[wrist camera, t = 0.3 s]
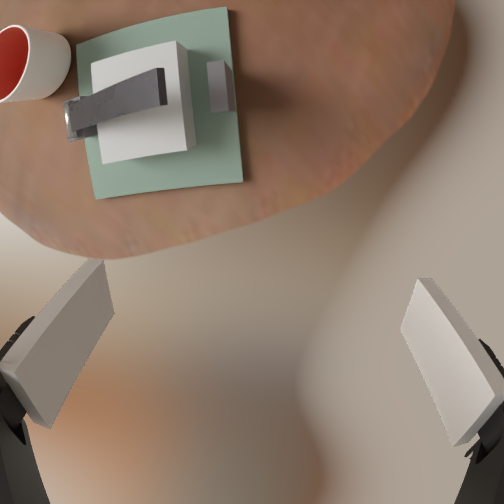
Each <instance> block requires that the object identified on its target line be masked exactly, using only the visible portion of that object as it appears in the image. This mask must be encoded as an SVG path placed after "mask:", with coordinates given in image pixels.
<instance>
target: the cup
mask: <svg viewBox="0 0 504 504" xmlns="http://www.w3.org/2000/svg"><path fill="white" fill-rule="evenodd" d="M70 64H71V49H70V46H69V43H68V41H67V40H66V39H65V38H64V37H63V36H62V35H60V34H58V33H54V32H50V31H45V30H41V29H36V28H32V27H27V26H22V25H11V26H9V27H6V28H5V29H3V30H2V31H1V32H0V103H3V102H13V101H23V100H36V99H43V98H45V97H47V96H49V95H51V94H52V93H54V92H55V91H56V90H57V89H58V88H59V87H60V86H61V84H62V83H63V81H64V80H65V78H66V76H67V74H68V71H69V68H70Z"/></svg>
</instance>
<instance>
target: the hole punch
mask: <svg viewBox="0 0 504 504" xmlns="http://www.w3.org/2000/svg"><path fill="white" fill-rule="evenodd" d="M76 53H77V72H78V86H79V97H76V98H73V99H70V100H73V103H76V102H78V101H80V100H82V99H84V98H86V97H88V96H90V95H92V94H94V93H96V92H99V91H101V90H103V89H105V88H107V87H110V86H112V85H114V84H116V83H119V82H121V81H123V80H126V79H128V78H131V77H133V76H136V75H138V74H141V73H143V72H146V71H149V70H151V69H154V68H164V70H165V81H166V91H167V101H168V105H165V106H160V107H156V108H152V109H148V110H144V111H140V112H137V113H133V114H129V115H126V116H122V117H119V118H115V119H112V120H109V121H105V122H102V123H99V124H96V125H93V126H90V127H87V128H84V129H81V130H78V131H77V136H78V137H76V138H72V139H69V142H72V141H76V140H80V139H84V138H85V145H86V151H87V158H88V163H89V169H90V174H91V180H92V185H93V190H94V195H95V199H96V200H97V199H103V198H109V197H116V196H123V195H130V194H137V193H144V192H152V191H160V190H168V189H177V188H186V187H195V186H205V185H215V184H226V183H238V182H243V180H244V179H243V168H242V157H241V147H240V136H239V125H238V115H237V104H236V93H235V82H234V72H233V61H232V50H231V39H230V28H229V17H228V9H227V7H220V8H213V9H206V10H200V11H194V12H188V13H183V14H178V15H173V16H169V17H164V18H160V19H156V20H152V21H148V22H144V23H140V24H136V25H133V26H129V27H126V28H123V29H119V30H116V31H113V32H110V33H107V34H104V35H101V36H98V37H96V38H93V39H90V40H87V41H85V42H82V43H80V44H77V45H76ZM70 100H67V101H70ZM65 102H66V101H65Z"/></svg>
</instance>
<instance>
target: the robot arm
mask: <svg viewBox="0 0 504 504" xmlns="http://www.w3.org/2000/svg"><path fill="white" fill-rule="evenodd" d="M113 315H114V310H113V305H112V300H111V296H110V291H109V286H108V281H107V276H106V271H105V265H104V260H98V259H88V260H87V261H86V262H85V263H84V264H83V265H82V266H81V267H80V268H79V269H78V270H77V271H76V272H75V273H74V274H73V276H72V277H71V278H70V279H69V280H68V281H67V282H66V283H65V284H64V285H63V286H62V288H61V289H60V290H59V291H58V292H57V293H56V294H55V295H54V297H53V298H52V299H51V300H50V301H49V302H48V303H47V304H46V306H45V307H44V308H43V309H42V310H41V311H40V313H39V314H38V315H37V316H36V317H35V316H32V317H31V318H29V319H28V320H27V321H25V322H24V323H22V324H21V325H20V327H19V328H18V329H17V330H16V332H15V334H13V335H12V336H11V338H10V339H9V342H8V341H7V343H6V344H5V345H4V346H3V348H2V349H1V350H0V504H50V502H49V499H48V497H47V494H46V491H45V488H44V485H43V483H42V480H41V477H40V473H39V470H38V467H37V464H36V460H35V457H34V453H33V450H32V446H31V442H30V438H29V434H28V429H27V426H26V423H25V421H24V419H23V417H24V416H25V414H26V412H27V414H28V415H29V416H30V418H31V419H32V420H33V422H34V423H36V424H39V425H42V426H44V427H47V428H49V429H51V427H52V425H53V423H54V421H55V419H56V417H57V415H58V413H59V411H60V409H61V407H62V405H63V404H64V402H65V400H66V398H67V396H68V394H69V392H70V390H71V388H72V386H73V384H74V383H75V381H76V379H77V377H78V375H79V373H80V372H81V370H82V368H83V366H84V365H85V363H86V361H87V359H88V357H89V356H90V354H91V352H92V350H93V349H94V347H95V345H96V344H97V342H98V340H99V338H100V336H101V335H102V333H103V332H104V330H105V328H106V327H107V325H108V323H109V321H110V320H111V318H112V317H113ZM400 331H401V333H402V335H403V337H404V339H405V341H406V343H407V345H408V347H409V349H410V351H411V353H412V355H413V357H414V359H415V361H416V363H417V365H418V368H419V370H420V372H421V374H422V376H423V378H424V380H425V383H426V385H427V387H428V389H429V392H430V394H431V396H432V399H433V401H434V403H435V405H436V408H437V410H438V413H439V415H440V418H441V420H442V422H443V425H444V427H445V430H446V432H447V435H448V438H449V440H450V443H451V445H452V447H455V446H458V445H461V444H464V443H468V442H469V441H470V440H471V439H472V438H473V437H474V436H475V435H476V433H477V432H478V434H479V437H480V439H479V440H478V441H477V442H476V443H475V444H474V446H472V447H471V448H470V449H469V450H468V451H467V453H466V454H465V457H467V456H469V454H471V452H473V455H472V457H471V458H470V459H471V461H470V464H469V467H468V469H467V472H466V476H465V478H464V481H463V483H462V486H461V488H460V491H459V494H458V496H457V498H456V501H455V503H454V504H504V368H503V367H502V366H501V363H500V362H499V360H498V359H497V358H496V356H495V355H494V353H493V351H492V350H491V349H490V347H489V346H488V345H486V344H485V343H484V342H483V341H482V340H481V339H477V337H476V336H475V335H474V333H473V332H472V330H471V329H470V328H469V326H468V325H467V323H466V322H465V321H464V319H463V318H462V317H461V315H460V314H459V313H458V311H457V310H456V309H455V307H454V306H453V305H452V303H451V302H450V301H449V299H448V298H447V297H446V296H445V294H444V293H443V292H442V291H441V289H440V288H439V287H438V286H437V284H436V283H435V282H434V281H433V279H431V278H417V281H416V284H415V287H414V291H413V293H412V296H411V299H410V302H409V305H408V308H407V311H406V313H405V316H404V319H403V321H402V324H401V327H400Z"/></svg>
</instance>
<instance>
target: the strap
mask: <svg viewBox="0 0 504 504" xmlns="http://www.w3.org/2000/svg"><path fill="white" fill-rule="evenodd" d="M63 105H64V114H65V123H66V130H67V137H68V140H69V139H72V138H76V137H78V136H77V131H78V130H81V129H84V128H87V127H90V126H93V125H96V124H99V123H102V122H105V121H109V120H112V119H115V118H119V117H122V116H126V115H129V114H133V113H137V112H140V111H144V110H148V109H152V108H156V107H160V106H165V105H168V101H167V91H166V81H165V70H164V68H154V69H151V70H149V71H146V72H143V73H141V74H138V75H136V76H133V77H131V78H128V79H126V80H123V81H121V82H119V83H116V84H114V85H112V86H110V87H107V88H105V89H103V90H101V91H99V92H96V93H94V94H92V95H90V96H88V97H86V98H84V99H82V100H80V101H78V102H76V103H73V100H70V101H66V102H64V103H63Z"/></svg>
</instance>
